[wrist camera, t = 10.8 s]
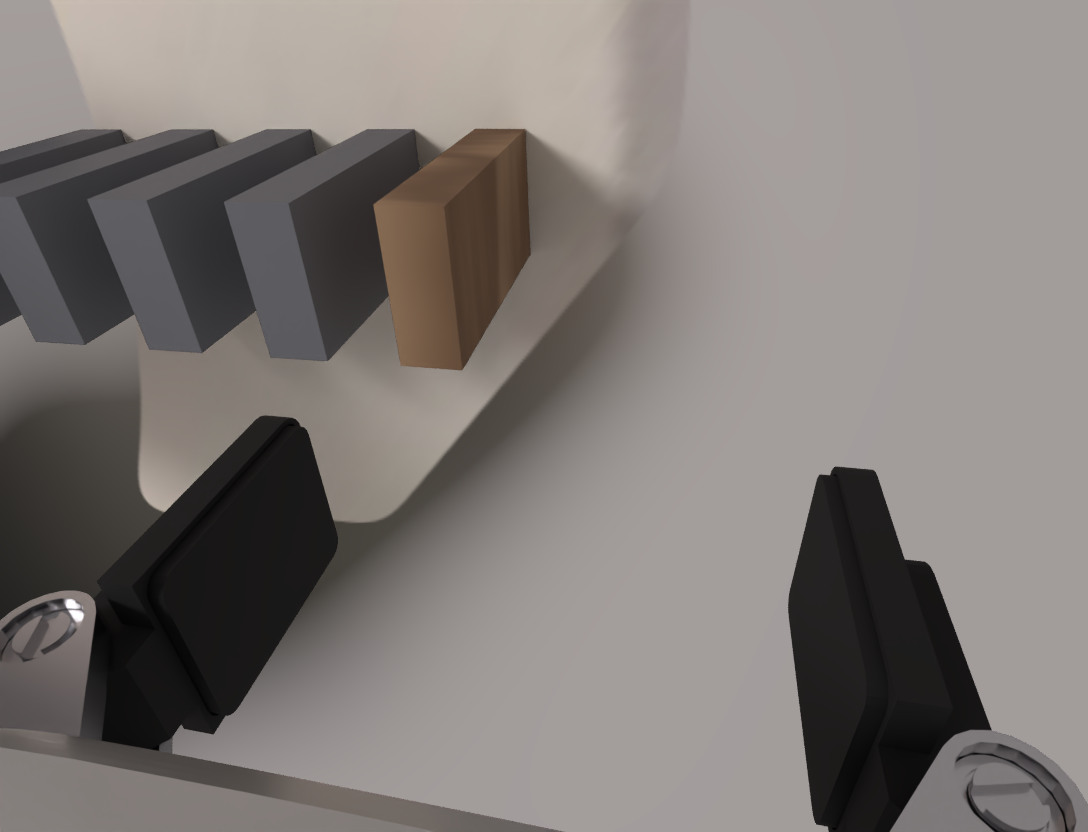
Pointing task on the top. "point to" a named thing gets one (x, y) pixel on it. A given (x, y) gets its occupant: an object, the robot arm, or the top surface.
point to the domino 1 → (42, 157)
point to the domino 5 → (455, 245)
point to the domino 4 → (320, 242)
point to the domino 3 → (191, 238)
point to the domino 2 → (77, 236)
